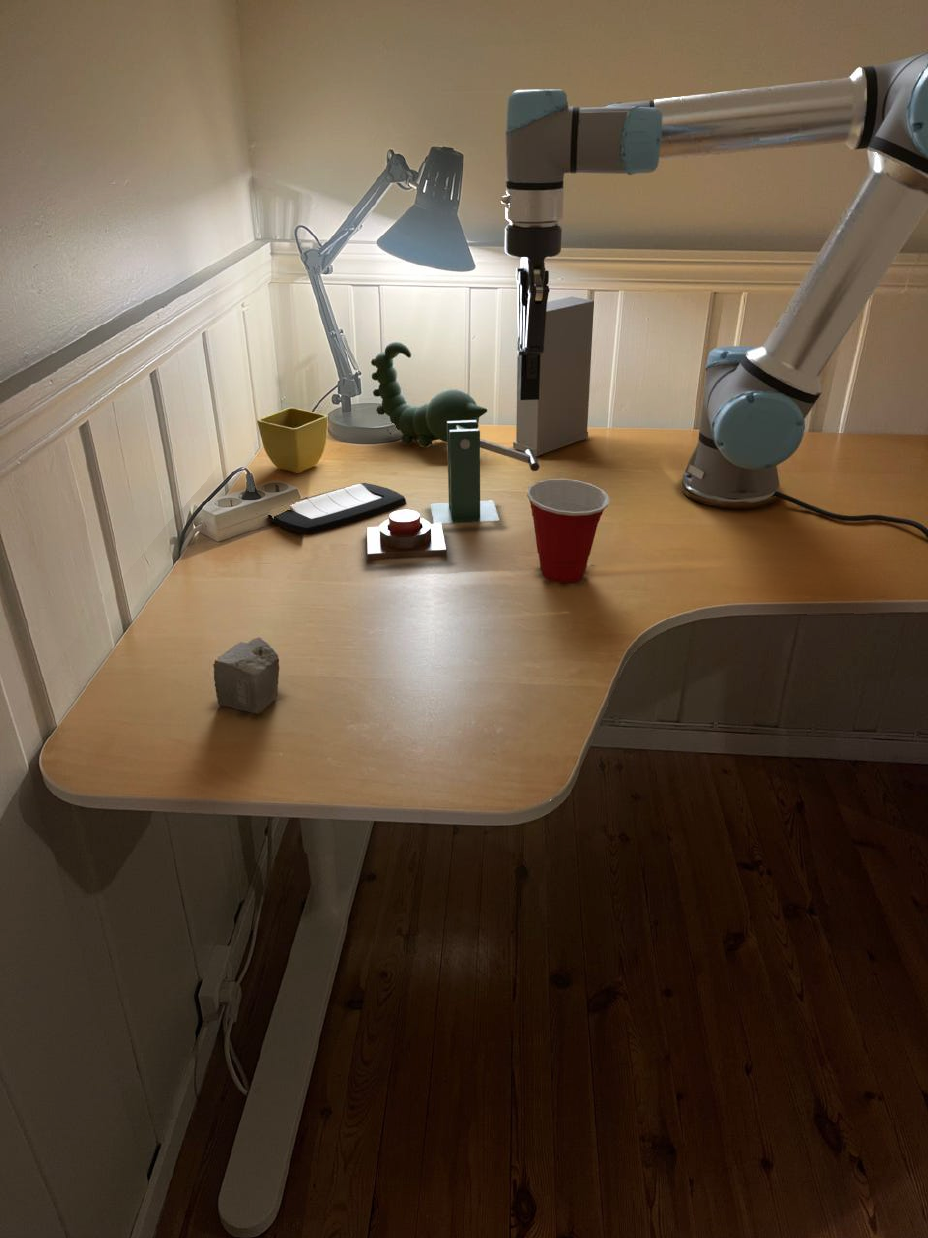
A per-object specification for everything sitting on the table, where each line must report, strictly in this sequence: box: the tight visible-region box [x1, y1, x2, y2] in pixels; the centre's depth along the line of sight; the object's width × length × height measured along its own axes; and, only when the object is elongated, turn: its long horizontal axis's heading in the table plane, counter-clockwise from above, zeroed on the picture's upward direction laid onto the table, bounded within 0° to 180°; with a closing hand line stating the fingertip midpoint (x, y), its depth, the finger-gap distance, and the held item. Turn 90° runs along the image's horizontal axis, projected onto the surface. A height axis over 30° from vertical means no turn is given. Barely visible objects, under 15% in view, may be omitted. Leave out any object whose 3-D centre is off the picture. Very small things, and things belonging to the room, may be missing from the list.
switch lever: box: [455, 425, 540, 472], centre depth 140 cm, size 13×6×2 cm, turn 95°
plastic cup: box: [526, 478, 610, 584], centre depth 125 cm, size 11×11×12 cm
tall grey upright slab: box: [512, 296, 595, 457], centre depth 167 cm, size 14×6×25 cm, turn 133°
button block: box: [366, 517, 448, 562], centre depth 134 cm, size 11×9×4 cm
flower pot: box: [256, 407, 328, 474], centre depth 163 cm, size 9×9×9 cm
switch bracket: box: [429, 420, 501, 525], centre depth 141 cm, size 10×8×15 cm
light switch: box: [267, 482, 407, 536], centre depth 147 cm, size 20×3×14 cm
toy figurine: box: [370, 341, 488, 448], centre depth 170 cm, size 9×19×25 cm
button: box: [388, 509, 421, 534], centre depth 133 cm, size 4×4×2 cm
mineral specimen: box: [212, 637, 280, 715], centre depth 100 cm, size 7×9×8 cm
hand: (529, 398), depth 136 cm, fingers closed
